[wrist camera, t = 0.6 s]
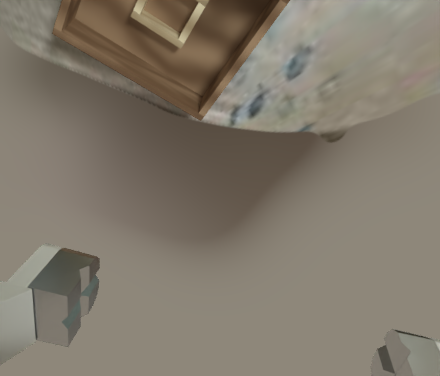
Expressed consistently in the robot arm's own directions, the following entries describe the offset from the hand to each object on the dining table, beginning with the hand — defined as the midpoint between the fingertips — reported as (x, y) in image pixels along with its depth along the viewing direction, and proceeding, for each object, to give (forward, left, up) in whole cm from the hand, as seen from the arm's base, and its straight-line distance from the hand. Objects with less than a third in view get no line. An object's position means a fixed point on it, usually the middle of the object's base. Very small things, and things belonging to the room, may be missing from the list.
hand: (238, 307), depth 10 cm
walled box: (+13, -6, -49) cm, 51 cm away
